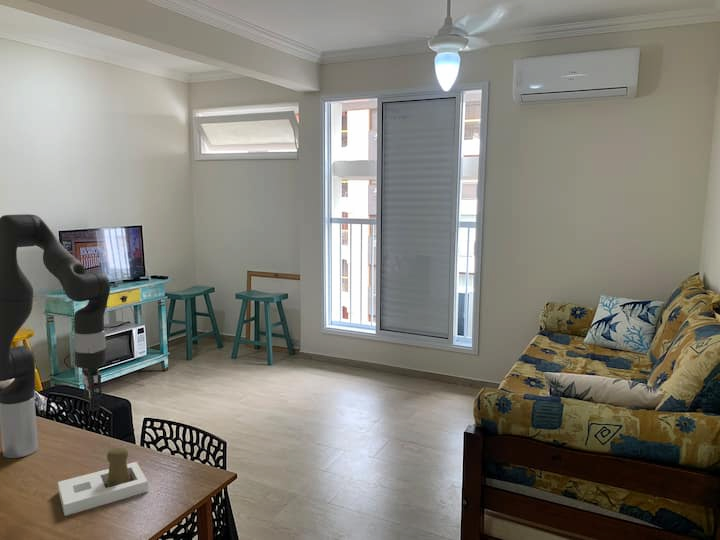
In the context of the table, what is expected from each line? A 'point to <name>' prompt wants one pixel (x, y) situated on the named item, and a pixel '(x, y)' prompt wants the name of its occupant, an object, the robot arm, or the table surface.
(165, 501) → the table surface
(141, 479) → the socket board
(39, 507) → the table surface
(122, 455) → the olive knobbed peg
